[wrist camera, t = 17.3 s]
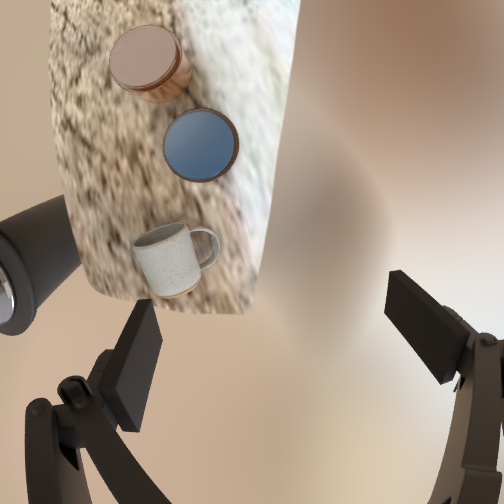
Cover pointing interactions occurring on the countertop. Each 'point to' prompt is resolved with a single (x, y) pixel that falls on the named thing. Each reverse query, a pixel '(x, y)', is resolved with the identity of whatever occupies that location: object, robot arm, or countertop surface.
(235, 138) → the coaster
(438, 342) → the robot arm
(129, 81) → the jam jar
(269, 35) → the countertop surface
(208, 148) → the jar lid
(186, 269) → the ceramic mug
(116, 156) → the countertop surface
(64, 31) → the countertop surface
